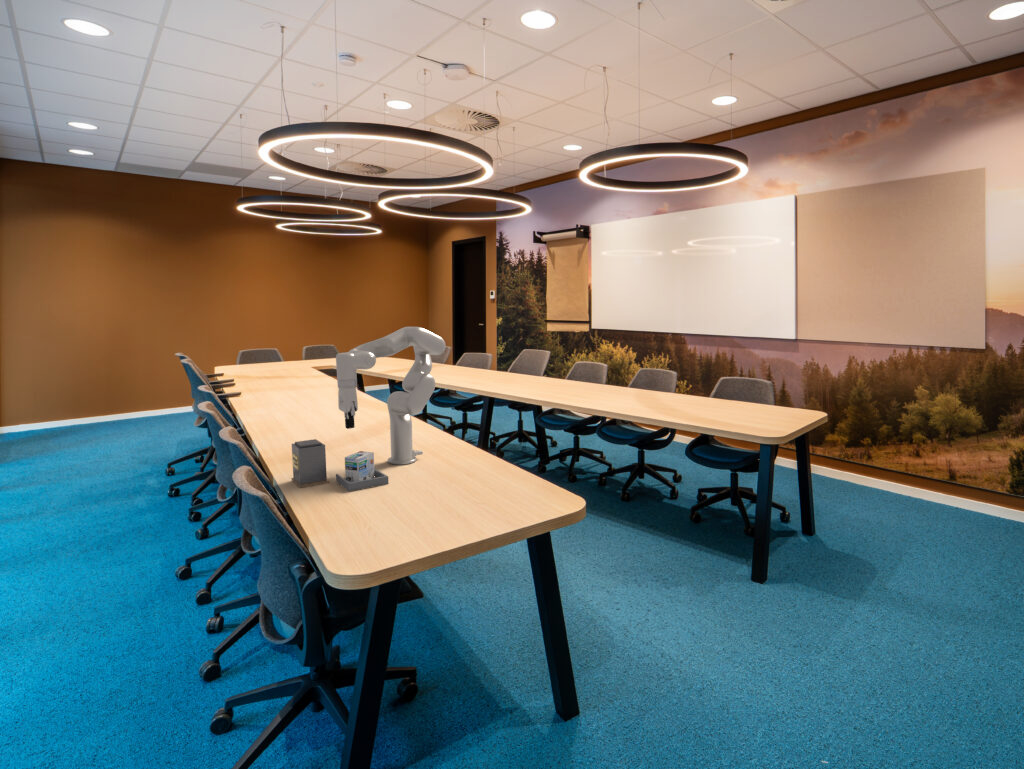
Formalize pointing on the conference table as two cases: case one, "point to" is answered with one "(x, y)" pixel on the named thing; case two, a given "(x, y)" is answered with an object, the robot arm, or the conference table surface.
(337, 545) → the conference table surface
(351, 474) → the light bulb box
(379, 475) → the bay
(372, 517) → the conference table surface
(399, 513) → the conference table surface
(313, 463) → the block
